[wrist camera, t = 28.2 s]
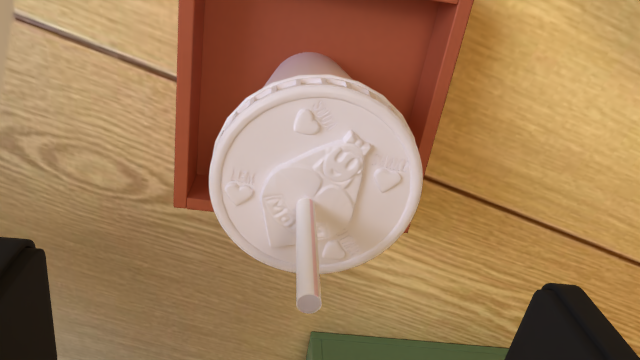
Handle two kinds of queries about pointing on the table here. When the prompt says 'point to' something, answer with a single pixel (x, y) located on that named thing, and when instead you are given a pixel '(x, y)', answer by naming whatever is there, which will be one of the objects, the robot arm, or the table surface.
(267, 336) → the table surface
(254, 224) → the smoothie
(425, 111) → the terracotta tray
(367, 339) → the green tray
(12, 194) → the table surface
